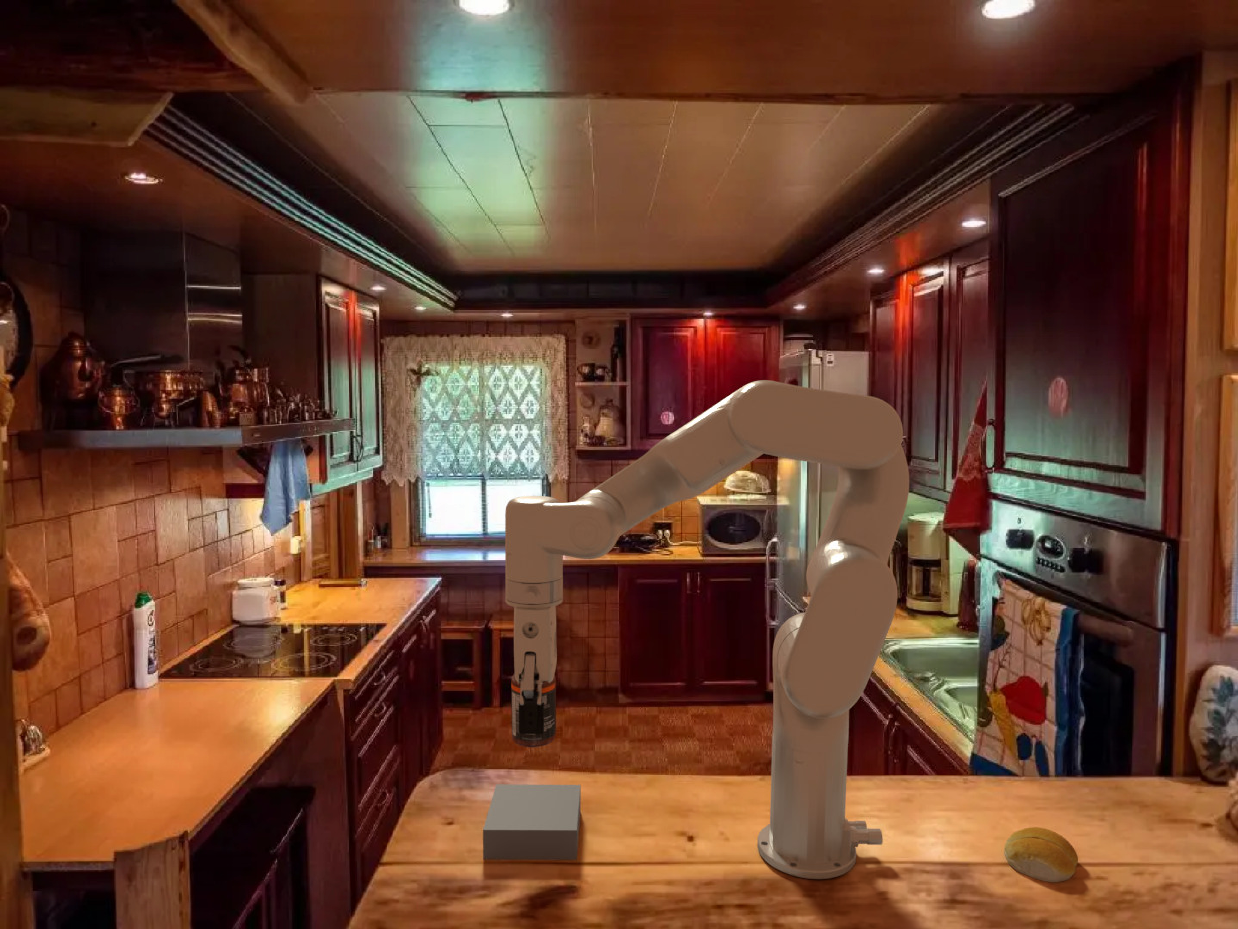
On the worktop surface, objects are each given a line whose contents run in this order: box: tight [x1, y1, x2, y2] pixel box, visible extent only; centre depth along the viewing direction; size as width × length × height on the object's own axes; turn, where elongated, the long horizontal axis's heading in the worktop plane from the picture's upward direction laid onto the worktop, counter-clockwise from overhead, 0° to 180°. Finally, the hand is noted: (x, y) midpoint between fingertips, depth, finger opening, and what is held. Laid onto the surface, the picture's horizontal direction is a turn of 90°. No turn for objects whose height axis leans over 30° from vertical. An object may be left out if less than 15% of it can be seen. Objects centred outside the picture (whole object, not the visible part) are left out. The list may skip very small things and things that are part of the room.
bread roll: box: [1003, 826, 1079, 883], centre depth 106 cm, size 8×9×4 cm
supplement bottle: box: [510, 673, 557, 749], centre depth 110 cm, size 6×6×11 cm
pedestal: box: [482, 783, 582, 861], centre depth 111 cm, size 12×12×4 cm
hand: (533, 721), depth 110 cm, fingers closed on supplement bottle, 6 cm apart
